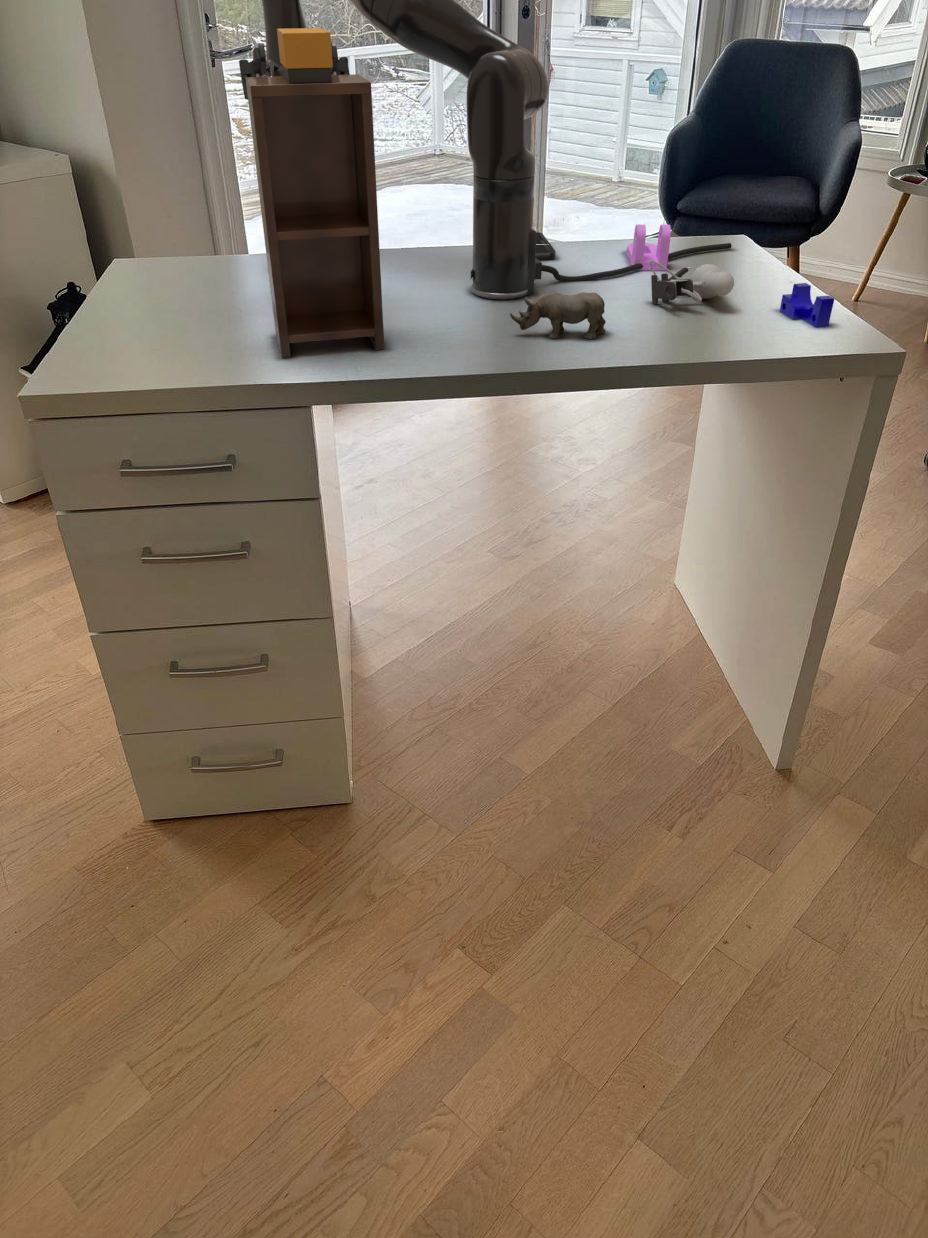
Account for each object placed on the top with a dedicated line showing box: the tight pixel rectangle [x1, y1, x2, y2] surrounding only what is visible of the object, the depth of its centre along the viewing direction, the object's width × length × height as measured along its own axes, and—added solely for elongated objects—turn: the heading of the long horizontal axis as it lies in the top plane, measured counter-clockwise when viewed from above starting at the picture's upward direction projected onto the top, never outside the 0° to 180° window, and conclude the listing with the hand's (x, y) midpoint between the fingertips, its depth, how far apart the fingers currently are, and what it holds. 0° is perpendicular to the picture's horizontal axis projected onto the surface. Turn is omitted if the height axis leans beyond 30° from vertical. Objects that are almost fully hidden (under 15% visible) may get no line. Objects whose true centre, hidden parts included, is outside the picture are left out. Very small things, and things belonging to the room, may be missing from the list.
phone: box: [535, 231, 556, 261], centre depth 171 cm, size 8×1×15 cm
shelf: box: [246, 74, 385, 359], centre depth 121 cm, size 14×9×32 cm, turn 104°
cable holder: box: [779, 282, 835, 328], centre depth 138 cm, size 8×4×4 cm, turn 13°
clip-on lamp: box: [650, 260, 735, 305], centre depth 146 cm, size 12×6×18 cm
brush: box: [277, 27, 333, 84], centre depth 114 cm, size 5×18×5 cm, turn 14°
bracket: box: [626, 224, 672, 271], centre depth 163 cm, size 13×6×7 cm, turn 179°
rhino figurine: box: [509, 291, 607, 340], centre depth 131 cm, size 4×14×6 cm, turn 89°
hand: (296, 49), depth 117 cm, fingers open, 8 cm apart
